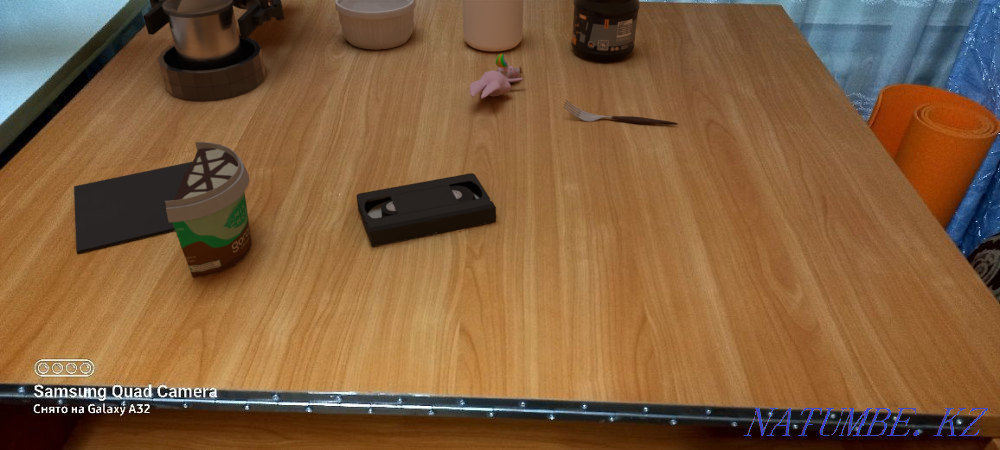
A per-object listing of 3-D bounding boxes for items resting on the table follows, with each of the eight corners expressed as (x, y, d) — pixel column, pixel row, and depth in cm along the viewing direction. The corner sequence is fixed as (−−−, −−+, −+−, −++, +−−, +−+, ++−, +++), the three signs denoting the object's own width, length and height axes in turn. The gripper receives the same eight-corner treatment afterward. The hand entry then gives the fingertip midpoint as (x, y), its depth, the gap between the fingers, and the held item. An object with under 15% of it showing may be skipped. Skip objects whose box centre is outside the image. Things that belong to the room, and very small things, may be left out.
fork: (677, 131, 102) (679, 118, 101) (562, 119, 104) (563, 106, 103) (677, 122, 104) (679, 110, 103) (564, 111, 106) (565, 98, 105)
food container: (251, 284, 75) (231, 202, 69) (188, 287, 74) (163, 204, 68) (271, 214, 85) (255, 137, 79) (216, 216, 84) (196, 139, 78)
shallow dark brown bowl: (161, 73, 115) (153, 43, 112) (256, 58, 120) (250, 28, 117) (172, 112, 105) (163, 80, 102) (275, 93, 110) (269, 62, 107)
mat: (74, 188, 89) (73, 186, 88) (197, 163, 94) (196, 160, 93) (77, 254, 78) (76, 251, 78) (214, 221, 84) (213, 218, 83)
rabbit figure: (494, 80, 118) (455, 105, 105) (496, 42, 115) (457, 63, 102) (531, 86, 116) (496, 112, 103) (534, 48, 113) (499, 70, 100)
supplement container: (580, 35, 129) (585, -34, 122) (640, 44, 126) (648, -27, 119) (562, 58, 121) (567, -15, 114) (625, 68, 118) (634, -7, 111)
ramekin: (403, 20, 135) (401, -19, 131) (428, 46, 125) (426, 5, 121) (331, 30, 130) (326, -9, 126) (351, 58, 121) (346, 16, 117)
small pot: (179, 73, 114) (158, -4, 107) (242, 62, 117) (227, -13, 110) (187, 98, 107) (166, 17, 100) (254, 86, 110) (239, 7, 103)
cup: (480, 28, 132) (480, -29, 126) (531, 38, 128) (533, -20, 123) (453, 47, 125) (451, -12, 119) (506, 58, 121) (507, -2, 115)
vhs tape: (473, 186, 90) (473, 172, 89) (495, 221, 84) (496, 207, 83) (357, 208, 86) (355, 193, 85) (371, 247, 80) (369, 232, 79)
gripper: (326, 5, 123) (285, 56, 106) (180, -1, 125) (117, 48, 108) (320, -41, 119) (276, 4, 102) (169, -46, 120) (101, -3, 103)
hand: (194, 27), depth 105 cm, fingers open, 13 cm apart
